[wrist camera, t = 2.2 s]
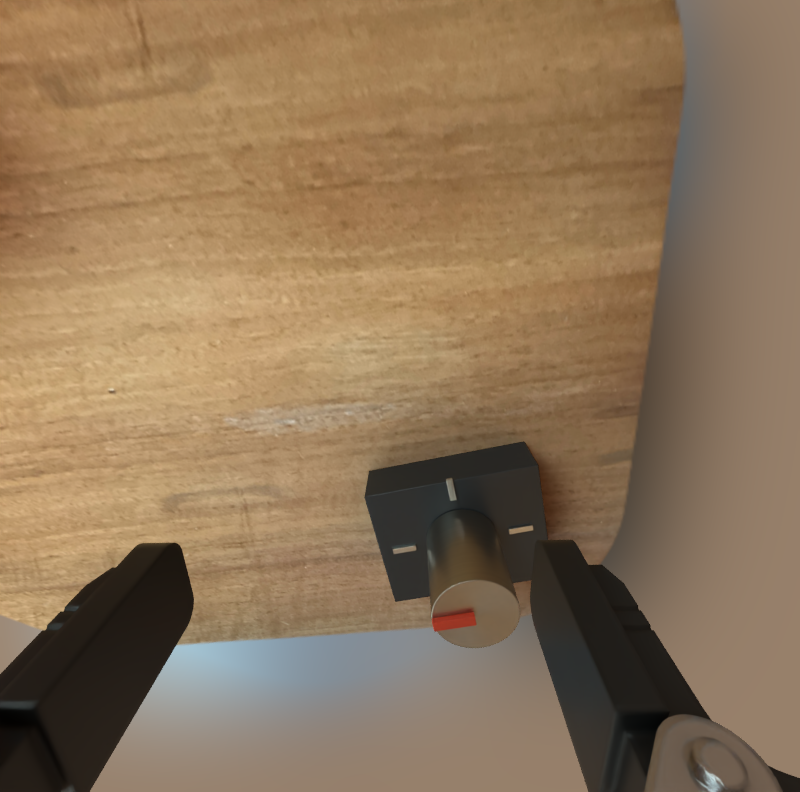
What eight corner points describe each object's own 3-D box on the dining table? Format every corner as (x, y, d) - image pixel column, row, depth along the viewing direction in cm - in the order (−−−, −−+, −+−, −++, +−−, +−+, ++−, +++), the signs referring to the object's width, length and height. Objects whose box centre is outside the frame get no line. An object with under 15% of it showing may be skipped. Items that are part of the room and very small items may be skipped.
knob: (491, 503, 24) (516, 578, 18) (501, 560, 25) (527, 647, 20) (420, 515, 24) (423, 593, 19) (434, 572, 26) (440, 659, 20)
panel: (523, 438, 26) (538, 463, 23) (539, 546, 29) (554, 581, 26) (368, 468, 27) (362, 495, 24) (397, 570, 30) (395, 606, 27)
